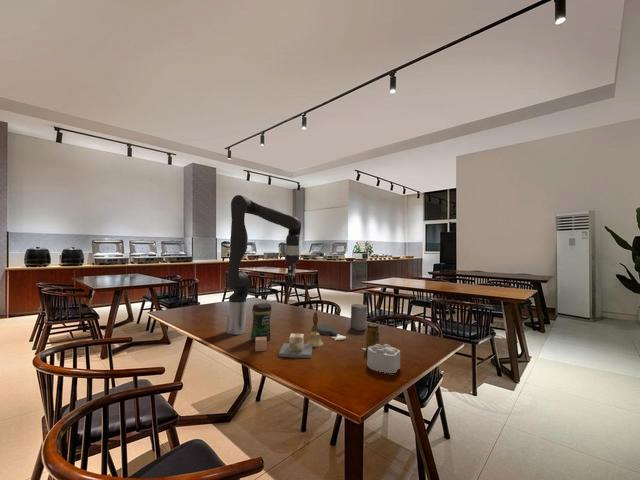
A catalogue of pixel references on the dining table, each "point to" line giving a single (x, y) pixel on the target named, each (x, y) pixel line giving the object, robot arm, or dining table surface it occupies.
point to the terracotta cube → (260, 344)
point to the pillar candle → (358, 316)
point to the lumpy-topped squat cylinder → (383, 358)
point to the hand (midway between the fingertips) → (291, 284)
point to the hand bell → (315, 333)
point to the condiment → (371, 336)
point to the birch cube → (296, 342)
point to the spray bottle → (329, 331)
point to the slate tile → (297, 354)
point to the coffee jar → (261, 321)
